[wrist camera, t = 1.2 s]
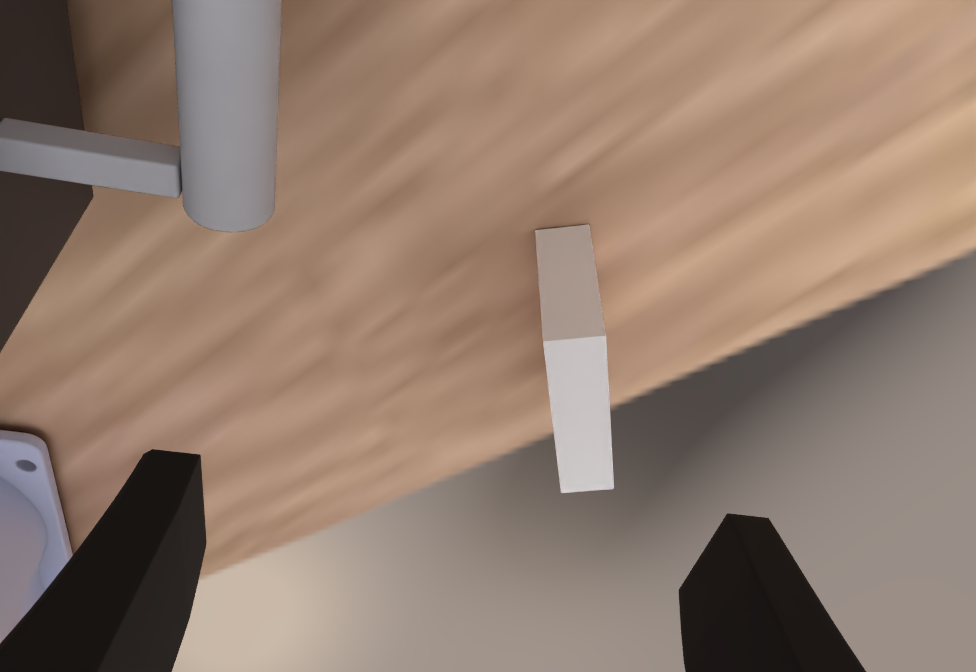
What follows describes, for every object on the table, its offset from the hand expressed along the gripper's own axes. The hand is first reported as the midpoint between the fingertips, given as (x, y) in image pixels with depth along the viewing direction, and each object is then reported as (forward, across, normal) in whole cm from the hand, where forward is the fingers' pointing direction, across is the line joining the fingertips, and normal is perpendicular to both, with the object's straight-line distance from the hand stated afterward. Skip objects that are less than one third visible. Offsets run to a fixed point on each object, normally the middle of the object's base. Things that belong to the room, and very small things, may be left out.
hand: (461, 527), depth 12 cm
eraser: (+9, -3, +3) cm, 10 cm away
